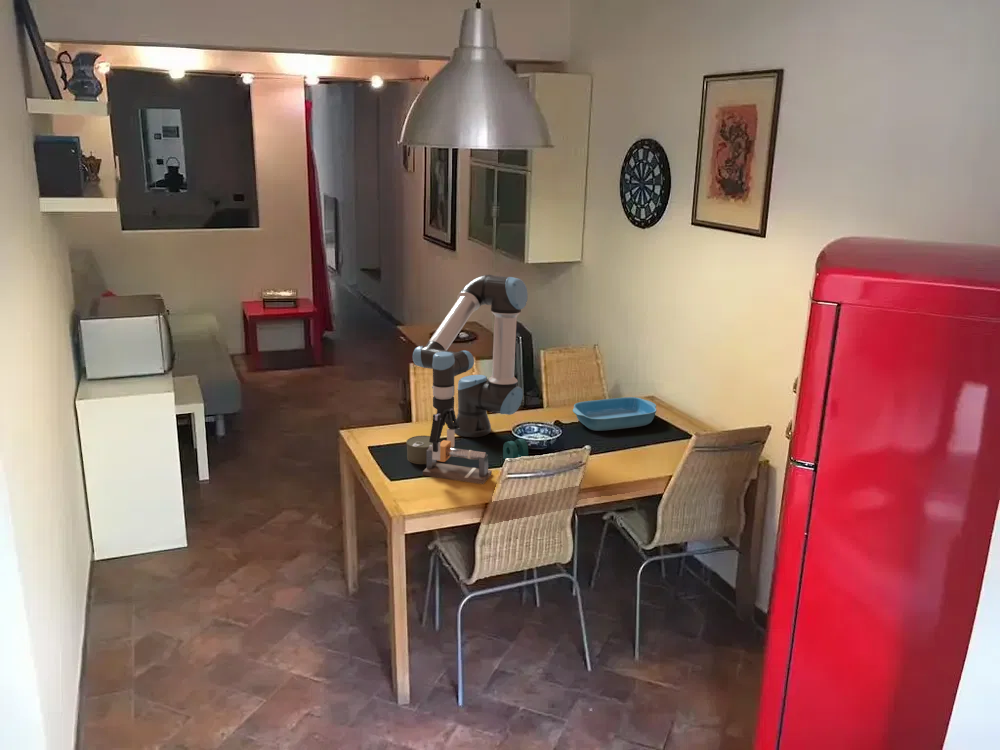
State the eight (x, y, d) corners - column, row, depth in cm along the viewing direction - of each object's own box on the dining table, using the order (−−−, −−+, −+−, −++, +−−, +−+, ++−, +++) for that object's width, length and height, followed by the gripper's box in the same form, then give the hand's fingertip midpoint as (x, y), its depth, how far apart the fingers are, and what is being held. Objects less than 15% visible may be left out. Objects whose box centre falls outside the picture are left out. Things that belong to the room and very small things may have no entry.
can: (445, 456, 314) (444, 439, 312) (426, 467, 304) (426, 449, 302) (419, 449, 320) (418, 433, 318) (400, 460, 310) (399, 443, 308)
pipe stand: (432, 465, 305) (432, 440, 302) (491, 474, 298) (491, 448, 295) (422, 475, 297) (422, 448, 294) (483, 484, 290) (483, 457, 287)
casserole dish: (584, 436, 336) (585, 419, 334) (563, 418, 356) (564, 402, 354) (665, 427, 347) (666, 411, 345) (641, 410, 367) (642, 394, 365)
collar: (443, 455, 300) (443, 440, 298) (451, 456, 299) (450, 441, 298) (437, 460, 295) (437, 445, 293) (445, 462, 294) (444, 446, 292)
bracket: (503, 459, 312) (503, 439, 310) (517, 455, 316) (518, 436, 313) (530, 475, 298) (530, 455, 295) (545, 471, 301) (546, 451, 299)
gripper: (446, 385, 303) (446, 439, 309) (419, 405, 280) (419, 463, 286) (466, 387, 300) (465, 442, 306) (439, 408, 278) (440, 466, 284)
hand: (443, 452), depth 296 cm, fingers open, 13 cm apart
